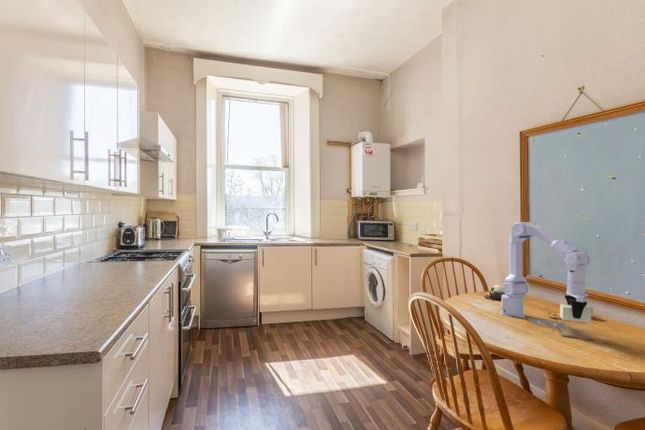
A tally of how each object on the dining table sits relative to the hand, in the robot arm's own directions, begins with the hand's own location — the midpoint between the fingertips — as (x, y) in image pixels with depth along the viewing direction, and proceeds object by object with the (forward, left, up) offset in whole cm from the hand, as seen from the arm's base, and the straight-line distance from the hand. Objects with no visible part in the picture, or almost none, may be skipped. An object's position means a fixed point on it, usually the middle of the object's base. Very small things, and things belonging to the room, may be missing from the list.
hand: (574, 316), depth 136 cm
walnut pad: (0, 0, -8) cm, 8 cm away
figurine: (+7, +23, -7) cm, 25 cm away
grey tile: (-7, +11, -8) cm, 15 cm away
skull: (-25, +49, -8) cm, 56 cm away
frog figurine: (+11, +33, -8) cm, 36 cm away
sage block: (0, 0, -1) cm, 1 cm away
